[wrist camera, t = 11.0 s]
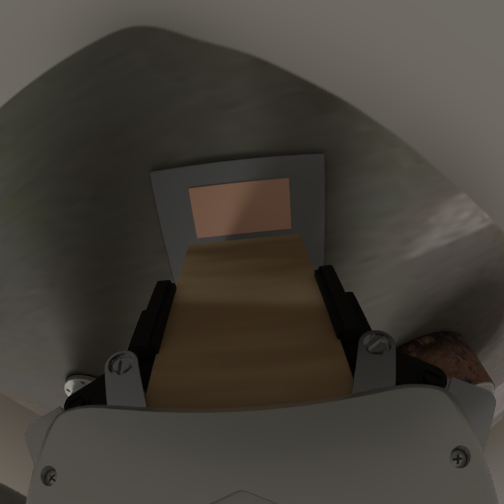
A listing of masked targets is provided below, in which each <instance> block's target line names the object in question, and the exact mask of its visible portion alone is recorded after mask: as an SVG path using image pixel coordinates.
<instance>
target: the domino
mask: <svg viewBox="0 0 504 504" xmlns="http://www.w3.org/2000/svg"><path fill="white" fill-rule="evenodd" d="M176 287H177V289H176V293H175V296H174V299H173V303H172V306H171V310H170V313H169V317H168V321H167V324H166V328H165V331H164V335H163V339H162V343H161V346H160V350H159V354H156V357H155V361H154V364H153V368H152V372H151V376H150V380H149V384H148V388H147V393H146V396H147V401H148V405H149V407H152V408H177V409H213V408H239V407H255V406H267V405H278V404H287V403H296V402H304V401H311V400H318V399H324V398H330V397H336V396H342V395H348V394H351V392H352V385H353V376H352V373H351V370H350V367H349V364H348V361H347V359H346V356H345V353H344V350H343V347H342V344H341V341H340V339H337V337H336V334H335V331H334V329H333V326H332V323H331V320H330V317H329V314H328V312H327V309H326V306H325V303H324V301H323V298H322V295H321V292H320V290H319V287H318V284H317V282H316V279H315V276H314V269H313V266H312V264H311V261H310V259H309V256H308V254H307V251H306V249H305V246H304V244H303V241H302V239H301V236H300V234H293V235H282V236H272V237H261V238H251V239H241V240H231V241H221V242H211V243H201V244H192V245H189V246H188V249H187V252H186V255H185V258H184V261H183V264H182V267H181V271H180V274H179V277H178V280H177V283H176Z"/></svg>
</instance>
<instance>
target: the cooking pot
mask: <svg viewBox="0 0 504 504" xmlns="http://www.w3.org/2000/svg"><path fill="white" fill-rule="evenodd" d="M396 350H398V351H400V352H403V353H405V354H408V355H410V356H413V357H415V358H417V359H420V360H422V361H425V362H427V363H430V364H432V365H435V366H437V367H439V368H440V369H442V370H443V371H444V373H445V374H446V376H447V378H448V379H450V380H451V379H452V377H454V378H456V379H459V380H462V381H464V382H467V383H470V384H472V385H475V386H478V387H481V388H484V389H486V390H488V391H490V392H491V393H492V394H494V390H495V385H494V383H493V382H492V380H491V378H490V377H489V375H488V373H487V372H486V370H485V369H484V367H483V366H482V364H481V362H480V361H479V359H478V358H477V356H476V355H475V353H474V352H473V350H472V349H471V347H470V346H469V344H468V343H467V342H466V341H465V339H464V338H463V337H462V336H461V335H459V334H457V333H454V332H438V333H433V334H429V335H426V336H422V337H420V338H418V339H415V340H413V341H410V342H409V343H407V344H405V345H403V346H401V347H399V348H397V349H396Z"/></svg>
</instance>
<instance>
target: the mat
mask: <svg viewBox="0 0 504 504" xmlns="http://www.w3.org/2000/svg"><path fill="white" fill-rule="evenodd" d="M150 178H151V183H152V188H153V193H154V198H155V202H156V207H157V212H158V216H159V221H160V225H161V229H162V234H163V238H164V242H165V246H166V250H167V254H168V258H169V262H170V266H171V270H172V273H173V277H174V281H175V284H176V283H177V280H178V277H179V274H180V271H181V267H182V264H183V261H184V258H185V255H186V252H187V249H188V246H189V245H192V244H201V243H211V242H221V241H231V240H241V239H251V238H261V237H272V236H282V235H293V234H300V236H301V239H302V241H303V244H304V246H305V249H306V251H307V254H308V256H309V259H310V261H311V264H312V266H313V269H314V271H315V270H318V268H319V266H324V250H325V154H324V153H315V154H296V155H281V156H267V157H256V158H245V159H236V160H227V161H218V162H210V163H203V164H196V165H189V166H182V167H175V168H169V169H163V170H157V171H152V172H150Z"/></svg>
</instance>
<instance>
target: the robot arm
mask: <svg viewBox="0 0 504 504" xmlns="http://www.w3.org/2000/svg"><path fill="white" fill-rule="evenodd" d="M314 276H315V279H316V282H317V284H318V287H319V290H320V292H321V295H322V298H323V301H324V303H325V306H326V309H327V312H328V314H329V317H330V320H331V323H332V326H333V329H334V331H335V334H336V337H337V339H340V341H341V344H342V347H343V350H344V353H345V356H346V359H347V361H348V364H349V367H350V370H351V373H352V376H353V385H352V392H351V394H348V395H342V396H336V397H330V398H324V399H318V400H311V401H304V402H296V403H287V404H278V405H267V406H255V407H239V408H213V409H177V408H152V407H149V405H148V401H147V396H146V393H147V388H148V384H149V380H150V376H151V372H152V368H153V364H154V361H155V357H156V354H159V350H160V346H161V343H162V339H163V335H164V331H165V328H166V324H167V321H168V317H169V313H170V310H171V306H172V303H173V299H174V296H175V293H176V289H177V287H176V284H175V283H171V281H170V280H165V281H158V282H157V284H156V286H155V289H154V291H153V294H152V296H151V299H150V301H149V304H148V307H147V309H146V310H144V311H142V313H141V315H140V318H139V320H138V323H137V326H136V328H135V331H134V334H133V336H132V339H131V342H130V345H129V347H128V350H127V351H119V352H116V353H114V354H113V355H111V356H110V357H109V358H108V359H107V361H106V363H105V374H103V375H102V376H100V377H99V378H94V377H90V376H86V375H73V376H70V377H68V378H67V380H66V382H65V385H64V389H65V392H66V394H67V396H68V398H67V400H66V402H65V404H64V408H61V407H60V406H59V407H58V408H56V409H54V410H53V411H51V412H49V413H47V414H46V415H44V416H42V417H40V418H39V419H37V420H35V421H33V422H32V423H30V424H29V425H28V426H27V428H26V430H25V440H26V443H27V446H28V449H29V452H30V455H31V457H32V460H33V463H34V469H33V473H32V477H31V481H30V486H29V490H28V495H27V497H26V496H25V495H23V494H21V493H19V492H17V491H15V490H14V489H12V488H10V487H8V486H6V485H4V484H2V483H0V504H498V500H497V496H496V492H495V488H494V484H493V480H492V477H491V473H490V470H489V467H488V465H487V462H486V459H485V456H484V453H483V452H484V449H485V445H486V442H487V439H488V435H489V431H490V427H491V424H492V419H493V415H494V411H495V406H496V400H495V397H494V395H493V394H492V393H491V392H490V391H488V390H486V389H484V388H481V387H478V386H475V385H472V384H470V383H467V382H464V381H462V380H459V379H456V378H454V377H452V379H451V380H450V379H448V378H447V376H446V374H445V373H444V371H443V370H442V369H440V368H439V367H437V366H435V365H432V364H430V363H427V362H425V361H422V360H420V359H417V358H415V357H413V356H410V355H408V354H405V353H403V352H400V351H398V350H396V345H395V341H394V339H393V338H392V337H391V336H390V335H389V334H388V333H386V332H383V331H379V330H371V328H370V326H369V324H368V321H367V319H366V317H365V315H364V313H363V311H362V309H361V307H360V305H359V303H358V301H357V299H356V297H355V295H354V294H353V292H346V293H345V291H344V289H343V287H342V285H341V283H340V280H339V278H338V276H337V274H336V272H335V270H334V268H333V266H332V265H326V266H319V268H318V270H315V271H314Z"/></svg>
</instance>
